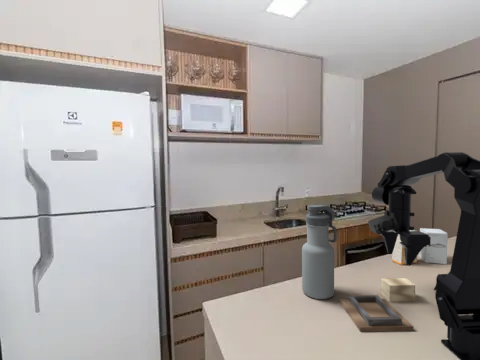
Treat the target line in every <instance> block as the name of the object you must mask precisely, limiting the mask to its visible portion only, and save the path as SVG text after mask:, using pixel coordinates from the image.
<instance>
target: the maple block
mask: <svg viewBox="0 0 480 360" xmlns="http://www.w3.org/2000/svg"><path fill="white" fill-rule="evenodd" d="M381 295H382V296H383V297H384V299H385V300H386V301H387V302H388V303H389V302H416V284H415V283H414V282H411V280H409V279H408V278H406V277H405V278H404V277H402V278H401V277H400V278H399V277H398V278H394V277H393V278H381Z"/></svg>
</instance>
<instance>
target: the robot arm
mask: <svg viewBox="0 0 480 360" xmlns="http://www.w3.org/2000/svg"><path fill="white" fill-rule="evenodd" d="M440 174H444V175H443V176H444V179H445V182H447V183H448V184H449V185H451V187H453V188H454V189H453V190H454V191H453V192H454V193H453V195H454V196H453V197H454V199H455V202H456V203H457V205H458V206H459V209H460V216H459V222H458V227H457V233H456V238H455V241H454V243H455V244H454V250H453V255H452V260H451V265H450V269H449V272H447V273H438V274H437V276H436V278H435V280H436V281H435V286H434V289H433V291H435V302H436V306H437V307H436V308H437V311H438V315H439V319H440V320H441V321H442V322H443V323H444V324H443V325H445V326H446V327H447V331H446V334H447V335H446V337H447V339H441V340H440V342H441V344H443V346H444V347H446V348H447V349H448V350H449V351H450V352H452V353H453V354H454V355H455V357H457V358H458V359H459V360H480V160H478V159H477V158H474V157H472V156H471V155H469V154H468V153H465V152H462V151H454V152H453V151H449V152H446V151H445V152H443V153H440V154H438V155H436V156H433V157H429V158H426V159H423V160H420V161H416V162H414V163H411V164H408V165H406V164H404V165H389V166H388V167H387V168H386V170H385V171H384V174H383V175H382V178H381V179H380V181H379V182H377V185H376V187H375V188H373V190H372V192H371V198H372V200H373V201H374V202H376V203H379V204H381V205H382V204H383V205H386V206H388V209H385V211H383V212H384V214H383V215H381V216H377V217H375V218H373V219H370V220H368V221H367V224H368V226H369V229H370V232H372V233H375V235H380V236H382V239H383V242H384V245H385V249H386V251H387V254H389V255H392V253H393V250H394V247H395V243H396V240H397V237H398V234H399V235H400V240H401V242H400V244H401V245H402V246H403V247H404V251H405V261H406V264H405V265H406V266H412V265H413V264H414V263H413V261H414V260H415V258H416V257H417V258H418V256H419V252H420V251H421V250H422V249H423V248H424V247H427V245H431V237H430V236H429V235H428V234H425V233H423V232H420V230H415V226H414V225H411V223H412V217H415V212H413V211H412V195H417V191H416V190H415V189H414V188H413V187H412V185H414V184H416V183H418V182H419V181H420V179H423V178H427V177H431V176H436V175H440ZM409 230H415V231H409Z"/></svg>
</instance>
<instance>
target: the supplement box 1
mask: <svg viewBox="0 0 480 360" xmlns="http://www.w3.org/2000/svg"><path fill="white" fill-rule="evenodd" d="M409 231H416V230H415V229H414V230H409ZM400 242H401V240H400V235H399V234H398V237H397V240H396V243H395V247H394V250H393V253H392V254H391V255H392V257H391V261H392V262H393V263H395V264H398V265H400V266H403V265H406V261H405V251H404V247H403V246H402V245H401V244H400ZM417 263H418V256H417V257H416V258H415V260H414V261H413V263H412V264H417Z"/></svg>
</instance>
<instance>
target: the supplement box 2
mask: <svg viewBox="0 0 480 360" xmlns="http://www.w3.org/2000/svg"><path fill="white" fill-rule="evenodd" d="M419 231H420V232H423V233H425V234H428V235H429V236H430V237H431V245H427V247H424V248H423V249H422V250H421V251H420V252H419V254H418V257H419V258H420V259H421V260H422V261H423V262H424V263H427V264H441V265H447V263H448V262H447V261H448V236H449V235H448V234H449V233H448V232H446V231H445V230H442V229H441V228H424V227H420V228H419Z"/></svg>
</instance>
